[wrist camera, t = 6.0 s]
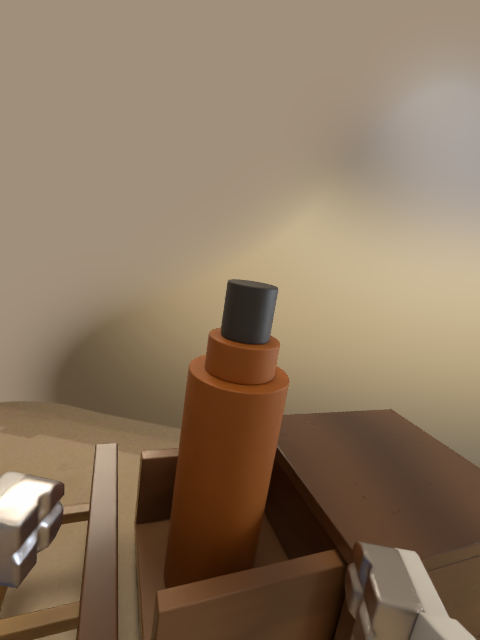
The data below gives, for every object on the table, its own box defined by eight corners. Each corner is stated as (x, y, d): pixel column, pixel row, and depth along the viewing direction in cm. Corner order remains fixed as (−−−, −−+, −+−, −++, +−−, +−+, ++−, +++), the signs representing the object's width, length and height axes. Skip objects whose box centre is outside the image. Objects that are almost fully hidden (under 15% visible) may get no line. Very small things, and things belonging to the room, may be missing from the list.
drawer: (-98, 853, 9) (-117, 710, 8) (10, 539, 19) (9, 450, 17) (349, 671, 15) (379, 570, 14) (259, 500, 24) (272, 431, 23)
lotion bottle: (170, 631, 15) (216, 287, 11) (158, 541, 19) (189, 271, 15) (264, 604, 16) (328, 298, 13) (234, 527, 20) (276, 281, 17)
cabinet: (329, 713, 14) (369, 574, 13) (239, 506, 25) (254, 416, 23) (511, 630, 19) (559, 520, 17) (370, 486, 29) (391, 408, 28)
